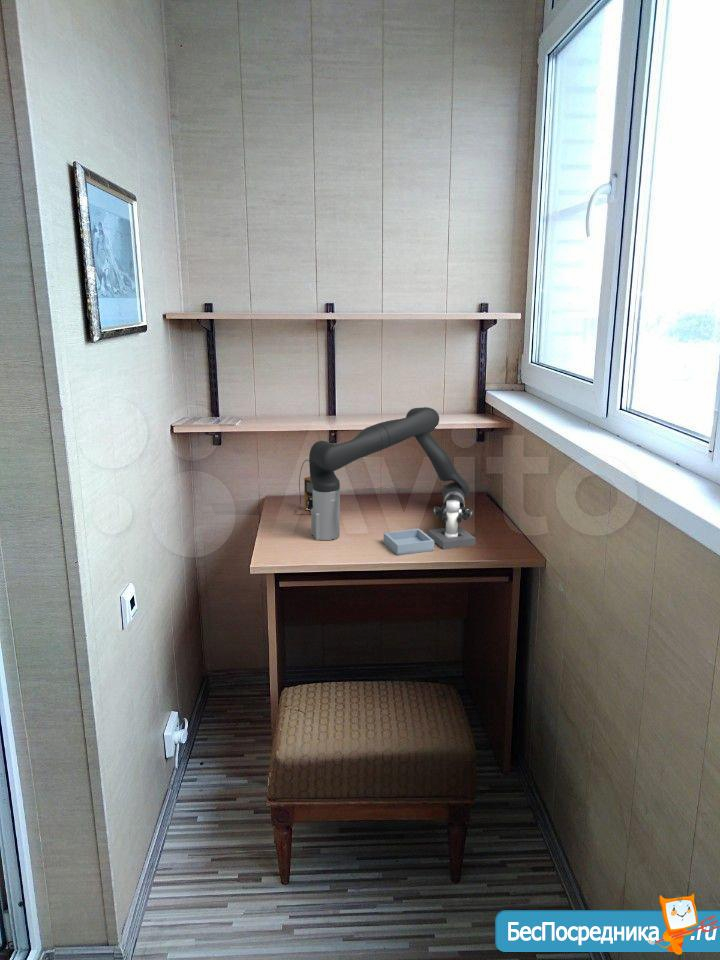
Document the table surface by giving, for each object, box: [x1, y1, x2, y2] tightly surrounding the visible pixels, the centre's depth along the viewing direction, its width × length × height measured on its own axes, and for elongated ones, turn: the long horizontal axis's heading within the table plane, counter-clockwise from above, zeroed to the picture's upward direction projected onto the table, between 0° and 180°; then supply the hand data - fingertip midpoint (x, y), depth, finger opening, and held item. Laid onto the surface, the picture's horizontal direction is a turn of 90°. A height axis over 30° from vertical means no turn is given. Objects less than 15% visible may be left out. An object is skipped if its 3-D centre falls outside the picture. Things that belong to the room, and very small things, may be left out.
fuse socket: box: [427, 525, 476, 550], centre depth 230 cm, size 12×12×2 cm
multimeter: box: [298, 459, 313, 510], centre depth 254 cm, size 15×10×20 cm
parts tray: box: [383, 528, 435, 556], centre depth 225 cm, size 13×12×4 cm
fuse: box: [445, 500, 460, 538], centre depth 229 cm, size 4×4×14 cm
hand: (451, 520), depth 226 cm, fingers closed on fuse, 4 cm apart
